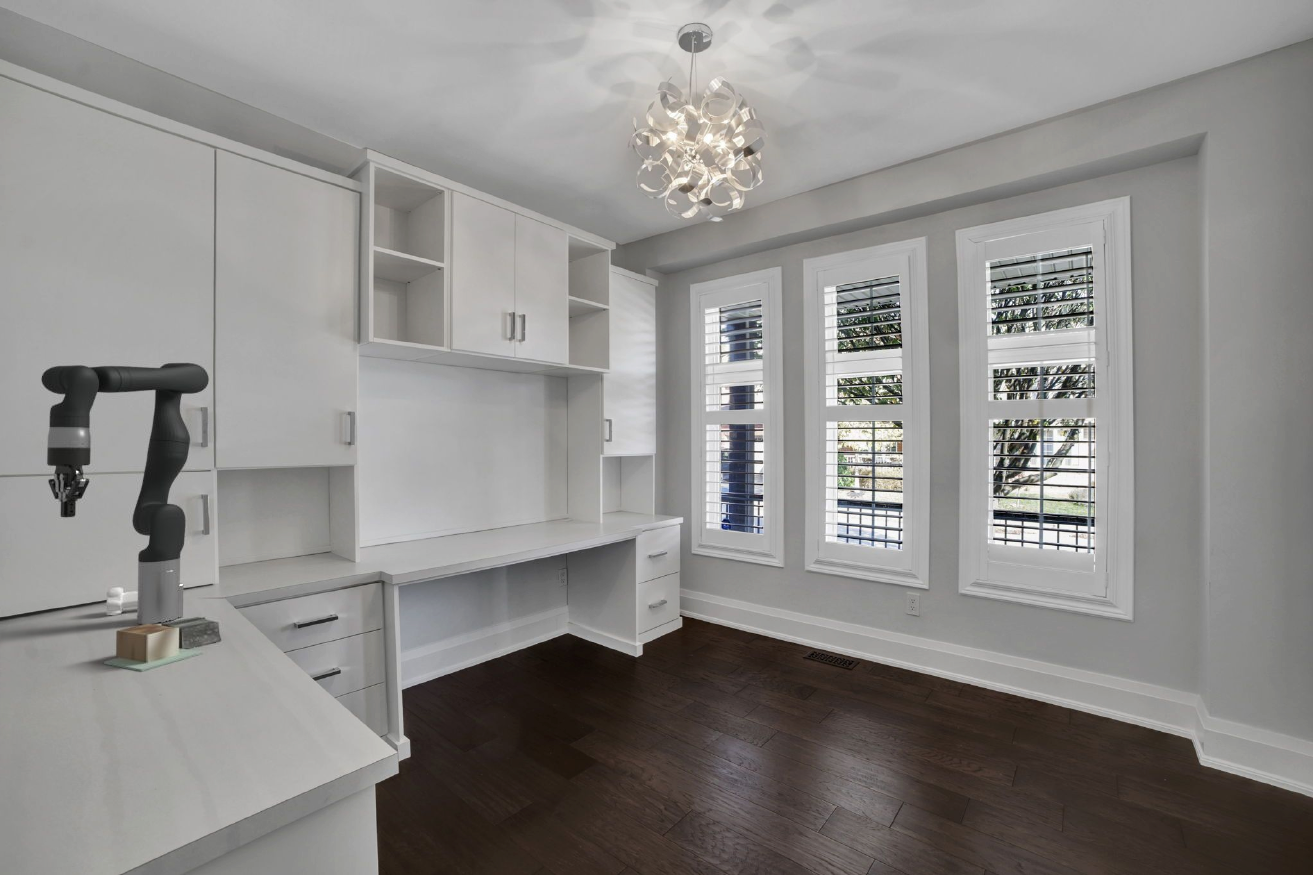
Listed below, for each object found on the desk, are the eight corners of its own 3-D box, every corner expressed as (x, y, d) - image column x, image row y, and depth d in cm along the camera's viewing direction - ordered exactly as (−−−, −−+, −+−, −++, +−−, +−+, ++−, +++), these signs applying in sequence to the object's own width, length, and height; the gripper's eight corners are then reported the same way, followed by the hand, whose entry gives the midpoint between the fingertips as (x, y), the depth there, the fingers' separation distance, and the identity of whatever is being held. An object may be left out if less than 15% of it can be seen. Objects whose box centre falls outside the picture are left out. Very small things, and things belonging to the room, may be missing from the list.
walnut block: (147, 623, 141) (179, 627, 136) (146, 649, 141) (178, 654, 136) (116, 630, 135) (148, 635, 131) (115, 657, 135) (147, 662, 130)
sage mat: (165, 647, 143) (165, 645, 143) (202, 653, 138) (202, 652, 138) (103, 663, 132) (103, 661, 132) (141, 671, 126) (141, 669, 126)
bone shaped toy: (105, 620, 172) (105, 592, 171) (109, 611, 178) (109, 584, 178) (171, 611, 181) (171, 585, 180) (173, 603, 187) (173, 578, 187)
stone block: (203, 633, 156) (203, 613, 156) (225, 642, 147) (225, 621, 148) (160, 641, 148) (161, 620, 149) (181, 651, 140) (181, 629, 140)
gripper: (104, 446, 145) (102, 516, 145) (73, 447, 150) (72, 515, 150) (64, 445, 138) (63, 519, 138) (34, 446, 143) (32, 517, 143)
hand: (67, 516), depth 144 cm, fingers closed
